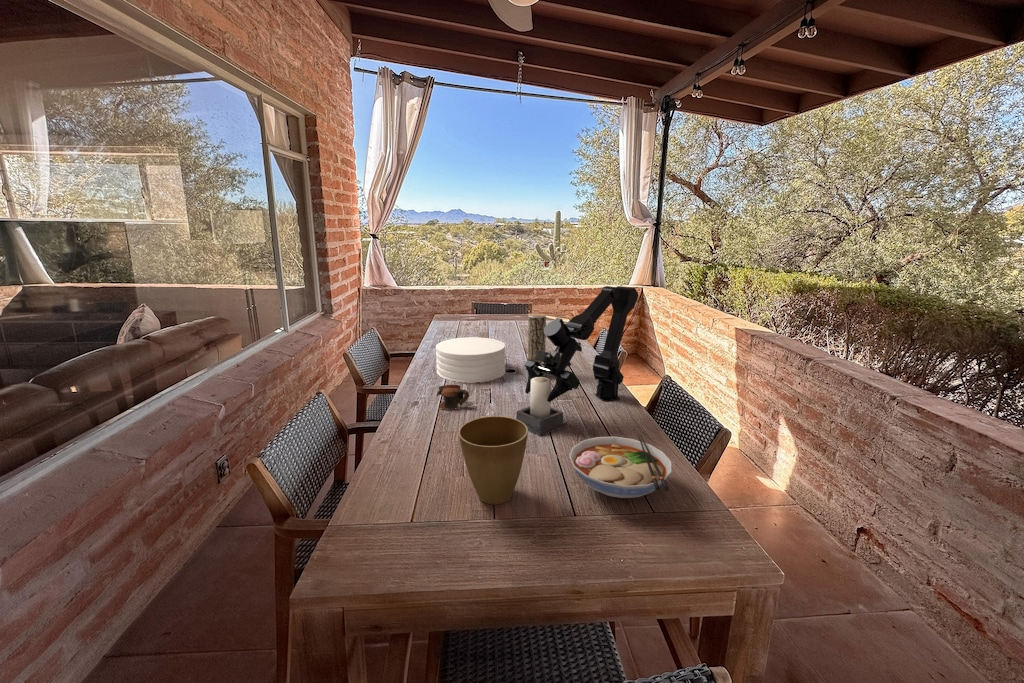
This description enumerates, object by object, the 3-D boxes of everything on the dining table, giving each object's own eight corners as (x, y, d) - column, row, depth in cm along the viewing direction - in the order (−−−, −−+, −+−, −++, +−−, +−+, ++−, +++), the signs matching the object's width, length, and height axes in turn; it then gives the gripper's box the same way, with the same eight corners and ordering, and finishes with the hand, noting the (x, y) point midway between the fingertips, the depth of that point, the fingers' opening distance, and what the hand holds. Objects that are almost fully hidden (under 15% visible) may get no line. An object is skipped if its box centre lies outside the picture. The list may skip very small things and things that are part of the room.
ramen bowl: (567, 458, 119) (568, 429, 117) (658, 463, 116) (660, 433, 114) (568, 517, 94) (569, 481, 92) (682, 525, 92) (686, 489, 90)
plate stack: (429, 367, 195) (427, 341, 192) (489, 359, 207) (489, 334, 204) (448, 387, 170) (447, 358, 168) (516, 377, 182) (516, 349, 179)
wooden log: (543, 379, 179) (544, 316, 173) (526, 378, 181) (527, 316, 175) (545, 373, 186) (547, 313, 180) (529, 372, 187) (530, 312, 181)
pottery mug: (431, 411, 150) (430, 386, 152) (446, 413, 158) (445, 390, 161) (463, 406, 146) (462, 381, 148) (477, 409, 154) (475, 385, 156)
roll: (551, 417, 141) (552, 377, 138) (548, 426, 135) (549, 383, 132) (532, 416, 142) (532, 375, 139) (528, 423, 136) (528, 382, 133)
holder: (539, 412, 147) (539, 401, 146) (567, 424, 138) (568, 412, 137) (511, 423, 139) (511, 411, 138) (539, 436, 131) (540, 423, 130)
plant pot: (491, 471, 112) (490, 410, 108) (540, 492, 103) (541, 427, 99) (446, 498, 101) (443, 431, 97) (497, 525, 92) (496, 453, 88)
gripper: (528, 334, 142) (501, 375, 137) (574, 345, 128) (546, 391, 124) (545, 354, 149) (520, 393, 144) (591, 366, 135) (565, 411, 131)
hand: (536, 397), depth 136 cm, fingers open, 9 cm apart
